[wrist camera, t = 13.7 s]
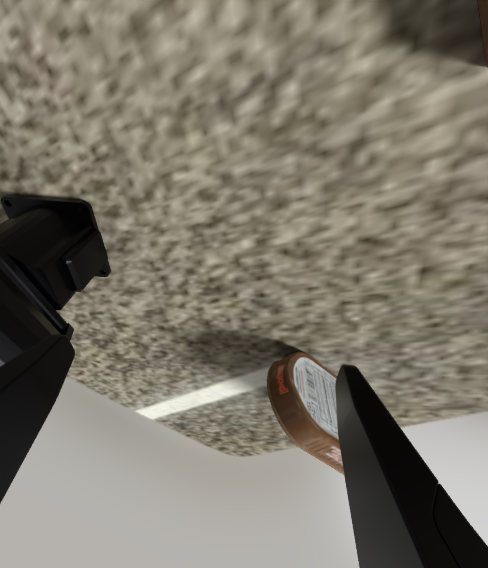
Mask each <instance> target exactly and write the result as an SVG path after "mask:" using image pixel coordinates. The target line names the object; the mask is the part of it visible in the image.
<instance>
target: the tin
mask: <svg viewBox="0 0 488 568" xmlns="http://www.w3.org/2000/svg"><path fill="white" fill-rule="evenodd" d="M336 378H337V376H335V375H334V374H333V373H332V372H330V371H329V370H328V369H327V368H325V367H324V366H323V365H322V364H320V363H319V362H318V361H317V360H315V359H314V358H313V357H311V356H310V355H308V354H306V353H303V352H295V353H293V354H290V355H289V356H287V357H285V358H283V359H282V360H280V361H276V362H274V363H273V364H272V365H271V367H270V369H269V371H268V376H267V388H268V395H269V399H270V403H271V405H272V409H273V411H274V414H275V416H276V418H277V420H278V422H279V424H280V425H281V427H282V429H283V430H284V431H285V433H286V434H287V436H288V437H289V438H290V439H291V440H292V441H293V442H294V443H295V444H296V445H297V446H298V447H299V448H301V449H303V450H304V451H306V452H308V453H309V454H311V455H313V456H314V457H316V458H317V459H319V460H321V461H323V462H324V463H326V464H327V465H329V466H331V467H332V468H334V469H335V470H337V471H339V472H340V473H342V474H343V475H344V469H343V463H342V457H341V451H340V445H339V438H338V428H337V409H336V389H335V383H336Z"/></svg>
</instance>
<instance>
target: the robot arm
mask: <svg viewBox="0 0 488 568" xmlns="http://www.w3.org/2000/svg"><path fill="white" fill-rule="evenodd" d="M1 203H2V205H3V207H4V209H5V211H6V213H7V215H8V217H9V220H7V221H5V222H4V223H2V224H1V225H0V503H1V501H2V500H3V498H4V496H5V494H6V492H7V490H8V488H9V487H10V485H11V483H12V481H13V479H14V477H15V476H16V474H17V472H18V470H19V468H20V466H21V464H22V463H23V461H24V459H25V457H26V455H27V453H28V452H29V450H30V448H31V446H32V444H33V442H34V440H35V439H36V437H37V435H38V433H39V431H40V429H41V428H42V425H43V424H44V422H45V420H46V418H47V416H48V414H49V413H50V411H51V409H52V407H53V405H54V403H55V401H56V399H57V397H58V395H59V393H60V390H61V388H62V385H63V383H64V381H65V378H66V376H67V373H68V371H69V369H70V366H71V364H72V361H73V359H74V356H75V350H74V348H73V346H72V344H71V342H70V340H71V337H72V334H73V331H74V329H73V327H72V326H71V325H70V324H69V323H66V321H65V320H64V319H63V318H62V317H61V316H60V315H59V313H58V312H57V311H56V310H61V309H62V308H63V307H64V306H65V305H66V303H67V302H68V301H69V300H70V299H71V297H72V296H73V295H74V294H75V293H76V292H81V291H82V290H83V289H84V288H85V287H86V285H87V284H88V283H89V282H90V280H91V279H92V278H93V277H94V276H98V277H107V276H108V275H109V274H110V273H111V269H110V266H109V262H108V256H107V253H106V250H105V246H104V243H103V240H102V236H101V233H100V231H99V229H98V226H97V223H96V220H95V216H94V213H93V210H92V207H91V205H90V204H89V203H88V202H86V201H83V200H71V199H58V198H45V197H32V196H19V195H6V196H4V197H2V198H1ZM82 206H83V207H84V208H85V209H86V210H84V209H83V208H82ZM103 270H104V271H105V272H104V271H103ZM335 389H336V409H337V428H338V438H339V445H340V451H341V457H342V463H343V469H344V475H345V482H346V488H347V494H348V500H349V506H350V512H351V518H352V524H353V530H354V536H355V543H356V549H357V554H358V561H359V567H360V568H488V546H487V545H486V544H485V542H484V541H483V540H482V539H481V537H480V536H479V535H478V534H477V532H476V531H475V530H474V529H473V527H472V526H471V525H470V524H469V522H468V521H467V519H466V518H465V517H464V515H463V514H462V513H461V511H460V510H459V509H458V507H457V506H456V505H455V503H454V502H453V501H452V499H451V498H450V496H449V495H448V494H447V492H446V491H445V490H444V488H443V487H442V485H441V484H438V480H437V479H436V477H435V476H434V474H433V473H432V471H431V470H430V469H429V467H428V466H427V465H426V463H425V462H424V460H423V459H422V457H421V456H420V455H419V453H418V452H417V450H416V449H415V448H414V447H413V445H412V444H411V442H410V441H409V439H408V438H407V437H406V435H405V434H404V432H403V431H402V430H401V428H400V427H399V425H398V424H397V423H396V421H395V420H394V418H393V417H392V416H391V414H390V413H389V411H388V410H387V409H386V407H385V406H384V404H383V403H382V402H381V400H380V399H379V397H378V396H377V395H376V393H375V392H374V390H373V389H372V388H371V386H370V385H369V383H368V382H367V381H366V379H365V378H364V376H363V375H362V374H361V372H360V371H359V369H358V368H357V367H356V366H354V365H345V364H344V365H342V366H341V368H340V370H339V373H338V376H337V378H336V383H335Z"/></svg>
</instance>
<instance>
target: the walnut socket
mask: <svg viewBox="0 0 488 568" xmlns="http://www.w3.org/2000/svg"><path fill="white" fill-rule="evenodd" d="M478 7H479V14H480V21H481V28H482V36H483V43H484V50H485V58H486V65H487V67H488V0H478Z"/></svg>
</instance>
